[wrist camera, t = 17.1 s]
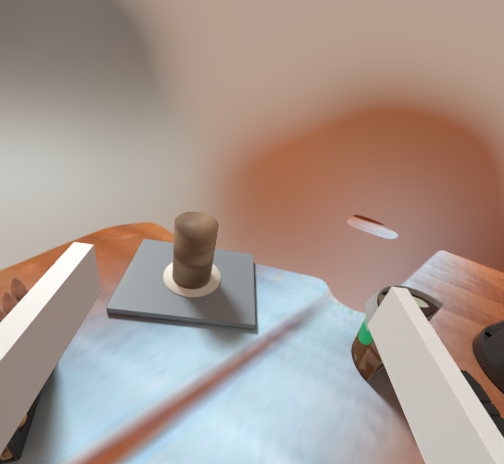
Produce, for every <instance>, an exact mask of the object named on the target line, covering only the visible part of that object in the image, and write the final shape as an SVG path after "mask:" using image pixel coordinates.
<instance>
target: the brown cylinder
mask: <svg viewBox="0 0 504 464" xmlns="http://www.w3.org/2000/svg"><path fill="white" fill-rule="evenodd" d="M217 231H218V222H217V220H216V219H214V217H212V216H210V215H208V214H205V213H201V212H187V213H183V214H181V215H179V216H178V217H177V218H176V219H175V228H174V250H173V271H172V278H173V280H174V282H175V283H176V284H177V285H178V286H180V287H182V288H186V289H199V288H202V287H204V286H205V285H207V284H208V283H209V281H210V279H211V272H212V266H213V259H214V252H215V245H216V238H217Z"/></svg>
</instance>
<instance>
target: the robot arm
mask: <svg viewBox="0 0 504 464" xmlns="http://www.w3.org/2000/svg"><path fill="white" fill-rule="evenodd" d="M100 293H101V286H100V280H99V274H98V268H97V262H96V255H95V249H94V245H92V244H85V243H77V242H74V243H73V244H72V245H71V246H70V247H69V248H68V249H67V251H66V252H65V253H64V254H63V255H62V256H61V257H60V258H59V259H58V260H57V261H56V263H55V264H54V265H53V266H52V267H51V268H50V269H49V270H48V271H47V272H46V273H45V275H44V276H43V277H42V278H41V279H40V280H39V281H38V282H37V283H36V284H35V285H34V287H33V288H32V289H31V290H30V291H29V292H28V293H27V294H26V295H25V296H24V297H23V299H22V300H21V301H20V302H19V303H18V304H17V305H16V306H15V307H14V308H13V309H12V311H11V312H10V313H9V314H8V315H7V316H6V317H5V318H4V319H3V320H0V455H1V454H2V452H3V450H4V449H5V447H6V446H7V444H8V442H9V441H10V439H11V437H12V436H13V434H14V433H15V431H16V429H17V428H18V426H19V425H20V423H21V421H22V420H23V418H24V416H25V415H26V413H27V412H28V410H29V408H30V407H31V405H32V403H33V402H34V400H35V399H36V397H37V395H38V394H39V392H40V391H41V389H42V387H43V386H44V384H45V382H46V381H47V379H48V378H49V376H50V374H51V373H52V371H53V369H54V368H55V366H56V365H57V363H58V361H59V360H60V358H61V357H62V355H63V353H64V352H65V350H66V348H67V347H68V345H69V344H70V342H71V340H72V339H73V337H74V336H75V334H76V332H77V331H78V329H79V327H80V326H81V324H82V323H83V321H84V319H85V318H86V316H87V314H88V313H89V311H90V310H91V308H92V306H93V305H94V303H95V302H96V300H97V298H98V297H99V295H100ZM368 328H369V330H370V333H371V335H372V337H373V340H374V342H375V345H376V347H377V349H378V352H379V354H380V357H381V359H382V361H383V364H384V366H385V369H386V371H387V373H388V376H389V378H390V381H391V383H392V385H393V388H394V390H395V393H396V395H397V397H398V400H399V402H400V404H401V407H402V409H403V412H404V414H405V416H406V419H407V421H408V424H409V426H410V428H411V431H412V433H413V436H414V438H415V440H416V443H417V445H418V448H419V450H420V452H421V455H422V457H423V460H424V462H425V464H504V419H503V418H501V417H500V413H499V412H498V410H497V409H496V407H495V406H494V404H491V400H490V399H489V397H488V396H487V394H486V393H485V391H484V390H483V388H482V387H481V385H480V384H479V383H478V382H477V381H476V380H475V379H474V378H473V377H472V376H471V375H470V374H469V373H468V372H467V371H463V370H459V368H458V367H457V365H456V363H455V362H454V360H453V359H452V357H451V356H450V354H449V353H448V351H447V349H446V348H445V346H444V345H443V343H442V342H441V340H440V339H439V337H438V336H437V334H436V332H435V331H434V329H433V328H432V326H431V325H430V323H429V322H428V320H427V319H426V317H425V315H424V314H423V312H422V311H421V309H420V308H419V306H418V305H417V303H416V301H415V300H414V298H413V297H412V295H411V294H410V292H409V291H408V289H406V288H399V287H391V288H390V290H389V292H388V293H387V295H386V296H385V298H384V299H383V301H382V303H381V304H380V306H379V307H378V309H377V310H376V312H375V314H374V315H373V317H372V318H371V320H370V321H369V323H368ZM473 351H474V354H475V357H476V359H477V361H478V362H479V364H480V366H481V367H482V369H483V370H484V372H485V373H486V374H487V375H488V377H489V378H490V379H491V380H492V381H493V382H494V384H495V385H496V386H497V387H498V388H499V389H500V390H501V391H502V392H504V320H502V321H500V322H497V323H495V324H492V325H490V326H487V327H486V328H484V329H483V330H482V331H481V332H480V333H479V334H478V335H477V336H476V337H475V338H474V340H473Z"/></svg>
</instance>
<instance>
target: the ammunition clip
mask: <svg viewBox="0 0 504 464" xmlns="http://www.w3.org/2000/svg"><path fill="white" fill-rule="evenodd" d="M11 293H12V294H10V293H8V292H5V293H4V295H3V309H4V311H3V310H1V309H0V320H3V319H4V318H5V317H6V316H7V315H8V314H9V313H10V312H11V311H12V309H13V308H14V307H15V306H16V305H17V304H18V303H19V302H20V301H21V300H22V299H23V297H24V296H25V295H26V294H27V293H28V291H27V289H26V287H25V286H24V284H23V283H22V282H21V281H20V280H19V279H17V278H13V279H12V282H11ZM42 388H43V387H42ZM41 391H42V389H41ZM41 391H40V392H39V394H38V395H37V397H36V399H35V400H34V402H33V403H32V405H31V407H30V408H29V410H28V412H27V413H26V415H25V416H24V418H23V420H22V421H21V423H20V425H19V426H18V428H17V429H16V431H15V433H14V434H13V436H12V437H11V439H10V441H9V442H8V444H7V446H6V447H5V449H4V450H3V452H2V454H1V455H0V464H2V463H6V462H11V461H16V460H19V459H20V457H21V454H22V451H23V448H24V445H25V441H26V438H27V435H28V432H29V429H30V426H31V423H32V420H33V416H34V413H35V410H36V407H37V404H38V401H39V398H40V394H41Z"/></svg>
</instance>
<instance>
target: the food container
mask: <svg viewBox="0 0 504 464" xmlns="http://www.w3.org/2000/svg"><path fill="white" fill-rule="evenodd" d="M391 287H399V288H406V289H408V291H409V292H410V294H411V295H412V297H413V298H414V300H415V301H416V303H417V305H418V306H419V308H420V309H421V311H422V312H423V314H424V315H425V317H426V319H427V320H428V322H429V321H430V319H431V318H432V317H433V316H434V315H435V313H437V312H438V311H439V309H440V308H441V307H442V305H443V303H442V302H440V301H439V300H437V299H435V298H434V297H432V296H430V295H428V294H426V293H424V292H421V291H419V290H417V289H413V288H410V287H406V286H399V285H396V286H395V285H392V286H387V287H385V288H383V289H381V290H379V291H378V292H376V293H375V294H374V295H373V296H372V297H371V298H370V299H369V300H368V302H367V304H366V309H365V312H366V318H365V320H364V322H363V324H362V326H361V328H360V330H359V332H358V334H357V336H356V338H355V340H354V342H353V345H352V350H351V352H352V358H353V361H354V364H355V366H356V368H357V370H358V371H359V373H360V374H361V376H362V377H363V378H364V379H365V381H366V382H367V381H368V380H369V379H371V378H372V377H373V376H374V375H375V374H377V373H378V372H379V371H380V370H382V369H383V368H384V367H385V366H384V364H383V361H382V359H381V357H380V354H379V352H378V349H377V347H376V345H375V342H374V340H373V337H372V335H371V333H370V330H369V328H368V323H369V321H370V320H371V318H372V317H373V315H374V314H375V312H376V310H377V309H378V307H379V306H380V304H381V303H382V301H383V299H384V298H385V296H386V295H387V293H388V292H389V290H390V288H391Z"/></svg>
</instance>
